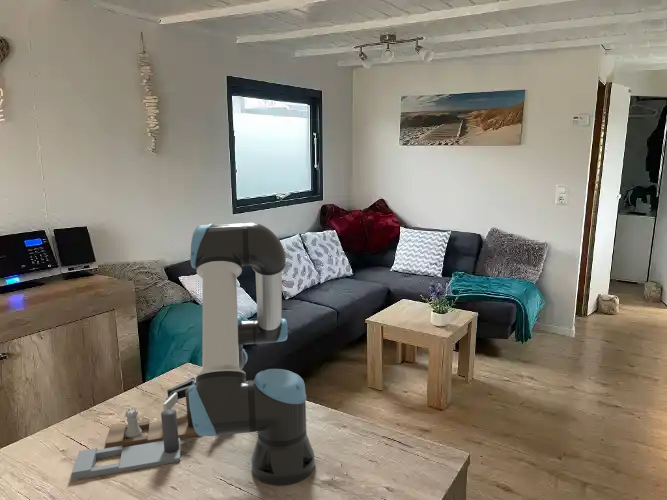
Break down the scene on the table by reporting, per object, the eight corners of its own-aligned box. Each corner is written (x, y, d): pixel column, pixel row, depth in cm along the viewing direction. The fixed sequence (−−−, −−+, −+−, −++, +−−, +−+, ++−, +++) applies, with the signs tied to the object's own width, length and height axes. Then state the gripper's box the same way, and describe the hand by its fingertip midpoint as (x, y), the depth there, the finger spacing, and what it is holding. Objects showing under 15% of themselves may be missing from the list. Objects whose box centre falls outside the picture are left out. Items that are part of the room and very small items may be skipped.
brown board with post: (203, 434, 136) (200, 396, 134) (106, 450, 130) (101, 411, 127) (201, 417, 145) (199, 382, 143) (111, 432, 138) (106, 394, 136)
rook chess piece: (145, 433, 138) (143, 406, 136) (138, 442, 133) (135, 414, 132) (129, 432, 138) (127, 405, 136) (121, 442, 134) (119, 414, 132)
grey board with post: (180, 461, 125) (176, 420, 123) (72, 480, 118) (67, 437, 116) (180, 441, 133) (177, 402, 131) (80, 458, 127) (75, 417, 124)
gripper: (259, 390, 154) (233, 427, 134) (183, 384, 159) (146, 419, 138) (258, 366, 153) (231, 401, 132) (181, 361, 157) (144, 394, 137)
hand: (188, 410), depth 135 cm, fingers open, 13 cm apart
